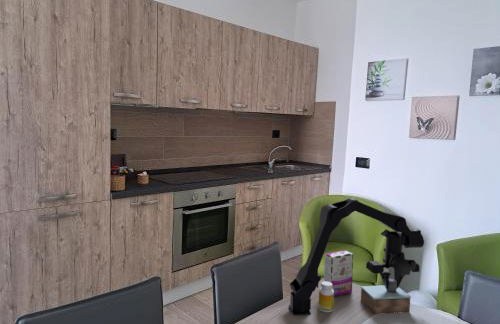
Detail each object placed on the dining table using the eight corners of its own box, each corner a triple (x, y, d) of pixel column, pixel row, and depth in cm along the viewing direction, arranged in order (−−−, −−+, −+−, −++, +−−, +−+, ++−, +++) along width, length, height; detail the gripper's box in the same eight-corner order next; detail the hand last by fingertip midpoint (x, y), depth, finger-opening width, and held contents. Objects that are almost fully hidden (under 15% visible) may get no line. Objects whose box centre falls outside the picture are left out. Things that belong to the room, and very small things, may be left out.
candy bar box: (343, 288, 147) (345, 249, 146) (352, 292, 143) (354, 253, 141) (322, 292, 142) (324, 253, 141) (330, 297, 138) (332, 257, 136)
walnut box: (373, 314, 126) (374, 300, 125) (360, 301, 135) (361, 288, 135) (409, 312, 128) (410, 298, 127) (394, 299, 138) (394, 287, 137)
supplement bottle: (333, 313, 125) (334, 287, 125) (318, 311, 126) (319, 285, 126) (333, 306, 131) (334, 281, 130) (318, 304, 132) (319, 279, 131)
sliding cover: (374, 299, 125) (374, 287, 125) (360, 287, 135) (361, 276, 135) (410, 298, 127) (411, 285, 127) (395, 286, 137) (395, 274, 137)
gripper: (382, 256, 121) (379, 299, 122) (430, 254, 124) (428, 297, 125) (366, 245, 132) (364, 286, 133) (411, 244, 135) (409, 284, 136)
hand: (391, 288), depth 132 cm, fingers closed on sliding cover, 3 cm apart
